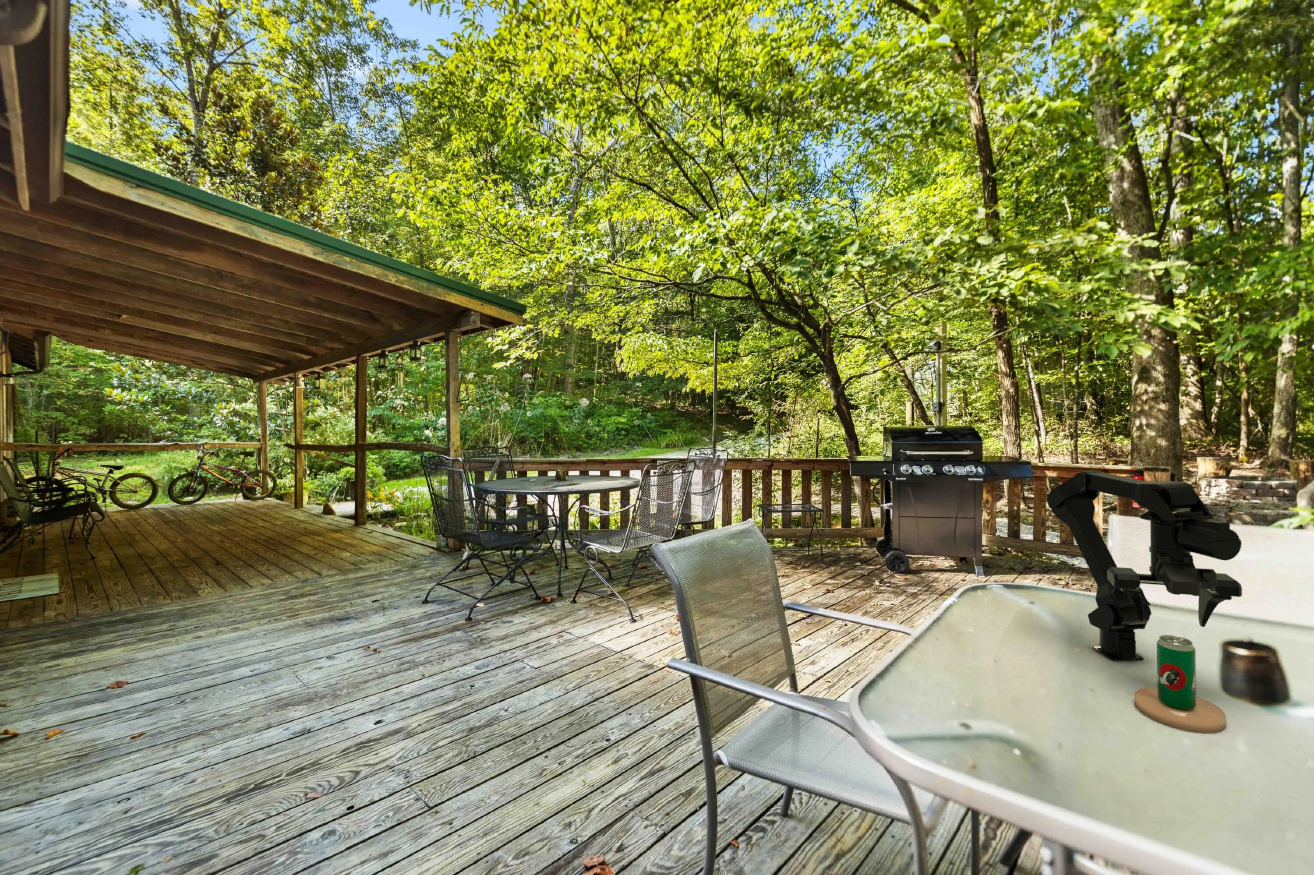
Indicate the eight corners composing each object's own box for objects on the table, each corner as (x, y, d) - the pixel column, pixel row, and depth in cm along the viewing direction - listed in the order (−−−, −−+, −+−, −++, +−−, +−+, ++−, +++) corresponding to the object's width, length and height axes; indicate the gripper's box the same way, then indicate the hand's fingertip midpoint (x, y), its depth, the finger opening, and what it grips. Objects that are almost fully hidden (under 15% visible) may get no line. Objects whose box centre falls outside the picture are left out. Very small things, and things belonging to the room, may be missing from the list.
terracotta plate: (1118, 695, 106) (1118, 687, 106) (1186, 695, 104) (1186, 687, 104) (1168, 732, 94) (1168, 724, 94) (1246, 733, 92) (1246, 724, 92)
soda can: (1202, 713, 96) (1202, 647, 95) (1166, 710, 98) (1165, 644, 97) (1186, 698, 101) (1185, 635, 100) (1152, 695, 102) (1151, 632, 102)
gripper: (1122, 554, 104) (1123, 633, 105) (1257, 561, 96) (1257, 647, 97) (1105, 539, 114) (1106, 612, 115) (1227, 544, 106) (1227, 622, 107)
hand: (1170, 623), depth 108 cm, fingers open, 9 cm apart
